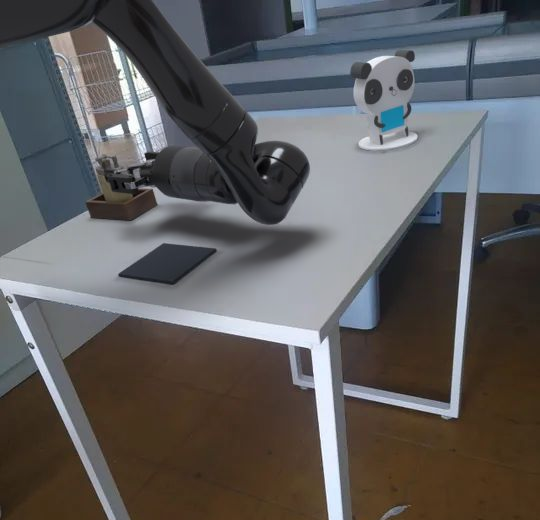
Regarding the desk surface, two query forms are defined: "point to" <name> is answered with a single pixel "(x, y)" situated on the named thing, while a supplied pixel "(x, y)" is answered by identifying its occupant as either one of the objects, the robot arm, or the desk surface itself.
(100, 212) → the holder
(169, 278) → the mat
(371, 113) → the panda figurine
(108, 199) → the lighter
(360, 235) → the desk surface
